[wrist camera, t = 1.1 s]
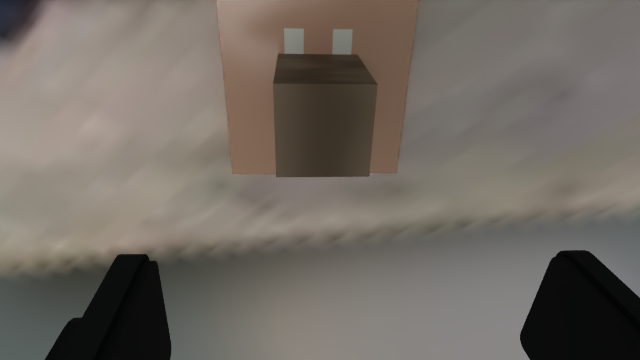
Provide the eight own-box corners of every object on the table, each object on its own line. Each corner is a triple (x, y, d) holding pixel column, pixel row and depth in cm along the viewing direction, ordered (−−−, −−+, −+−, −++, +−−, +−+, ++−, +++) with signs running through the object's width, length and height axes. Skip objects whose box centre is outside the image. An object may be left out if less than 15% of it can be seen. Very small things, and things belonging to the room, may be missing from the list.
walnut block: (357, 54, 25) (377, 84, 19) (352, 128, 28) (369, 176, 22) (278, 53, 25) (272, 83, 19) (280, 128, 27) (276, 176, 21)
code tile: (415, -7, 25) (419, -5, 24) (393, 167, 31) (396, 173, 30) (218, -11, 24) (215, -10, 23) (234, 167, 30) (232, 174, 29)
